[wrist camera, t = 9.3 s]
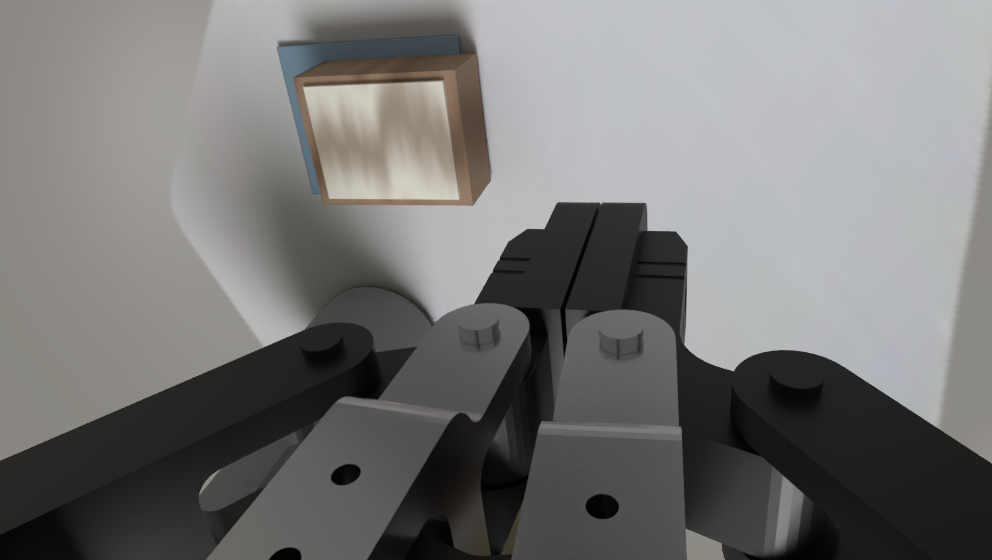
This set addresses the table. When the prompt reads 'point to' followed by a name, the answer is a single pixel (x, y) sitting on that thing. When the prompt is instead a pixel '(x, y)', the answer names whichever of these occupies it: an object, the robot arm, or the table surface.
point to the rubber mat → (310, 55)
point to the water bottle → (391, 330)
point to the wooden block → (396, 130)
